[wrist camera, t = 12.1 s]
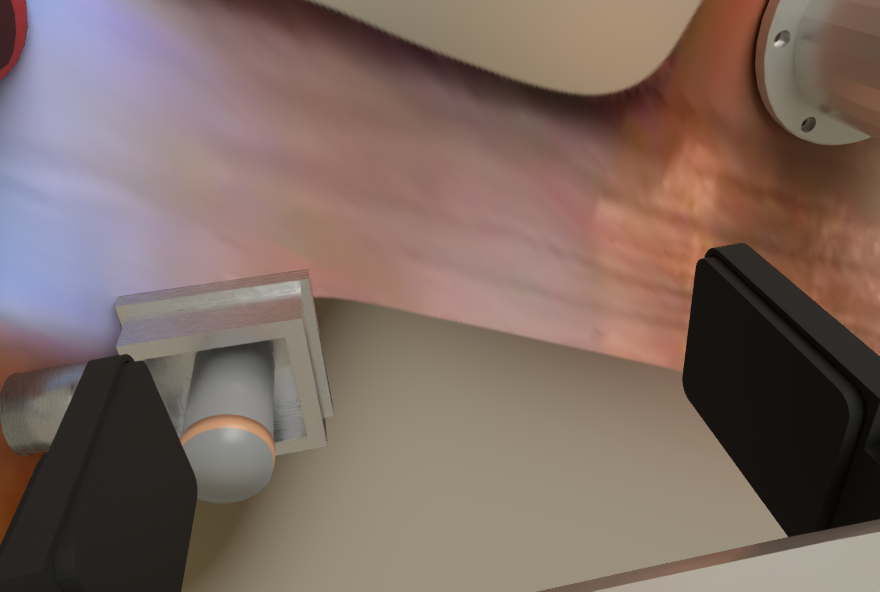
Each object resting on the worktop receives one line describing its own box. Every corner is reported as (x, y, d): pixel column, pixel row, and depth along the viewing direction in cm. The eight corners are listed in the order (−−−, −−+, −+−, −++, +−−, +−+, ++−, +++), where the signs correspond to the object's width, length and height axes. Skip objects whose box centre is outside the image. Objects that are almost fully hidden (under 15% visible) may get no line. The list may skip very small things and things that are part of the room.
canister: (269, 327, 37) (265, 427, 31) (282, 390, 40) (282, 495, 33) (183, 339, 37) (161, 444, 30) (202, 402, 39) (186, 512, 33)
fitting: (307, 269, 37) (310, 312, 34) (332, 405, 43) (338, 455, 39) (-3, 314, 35) (-36, 365, 31) (65, 451, 40) (44, 509, 37)
